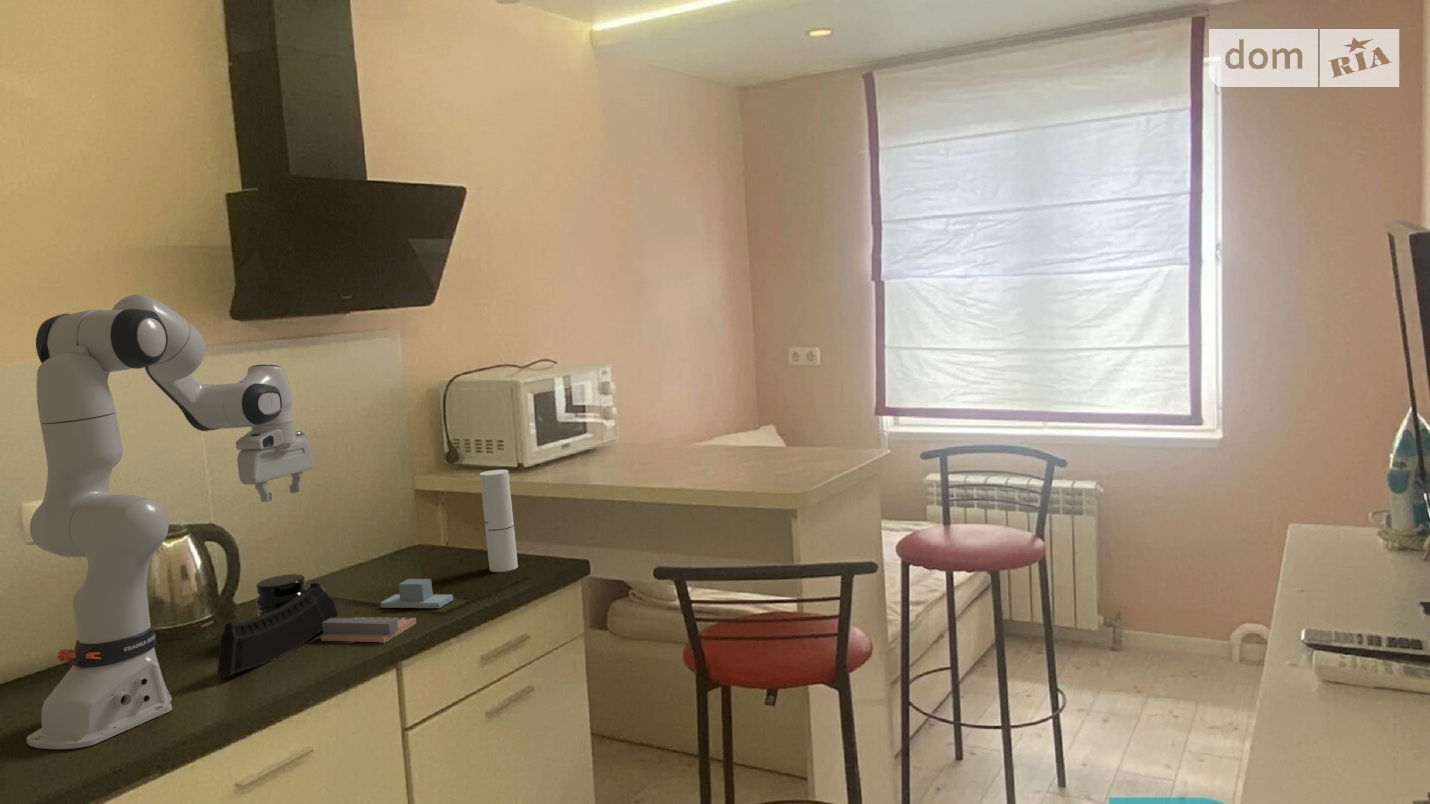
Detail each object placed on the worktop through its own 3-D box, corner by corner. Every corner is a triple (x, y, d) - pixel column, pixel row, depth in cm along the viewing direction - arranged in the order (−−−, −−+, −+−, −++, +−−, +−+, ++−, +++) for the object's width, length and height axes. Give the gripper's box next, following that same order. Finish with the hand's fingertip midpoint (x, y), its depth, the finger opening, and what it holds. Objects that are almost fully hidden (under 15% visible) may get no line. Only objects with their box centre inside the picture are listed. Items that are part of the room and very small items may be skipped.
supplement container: (250, 638, 212) (243, 584, 210) (296, 623, 220) (289, 571, 219) (277, 646, 205) (270, 590, 204) (323, 630, 214) (316, 576, 213)
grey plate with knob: (439, 608, 223) (437, 585, 222) (381, 607, 227) (378, 585, 226) (453, 599, 228) (450, 577, 228) (396, 599, 232) (393, 577, 232)
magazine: (215, 640, 183) (316, 553, 209) (201, 640, 184) (304, 553, 210) (246, 714, 190) (341, 620, 216) (233, 713, 191) (329, 619, 217)
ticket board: (386, 643, 202) (384, 626, 201) (319, 641, 206) (317, 625, 206) (418, 623, 213) (416, 607, 213) (354, 622, 217) (352, 606, 217)
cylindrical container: (509, 562, 259) (500, 468, 256) (522, 567, 253) (513, 471, 251) (484, 569, 254) (474, 473, 252) (497, 573, 249) (487, 476, 246)
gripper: (293, 430, 233) (300, 488, 234) (229, 443, 213) (237, 506, 214) (316, 429, 231) (323, 487, 232) (253, 442, 211) (261, 506, 213)
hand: (281, 496), depth 223 cm, fingers open, 8 cm apart
